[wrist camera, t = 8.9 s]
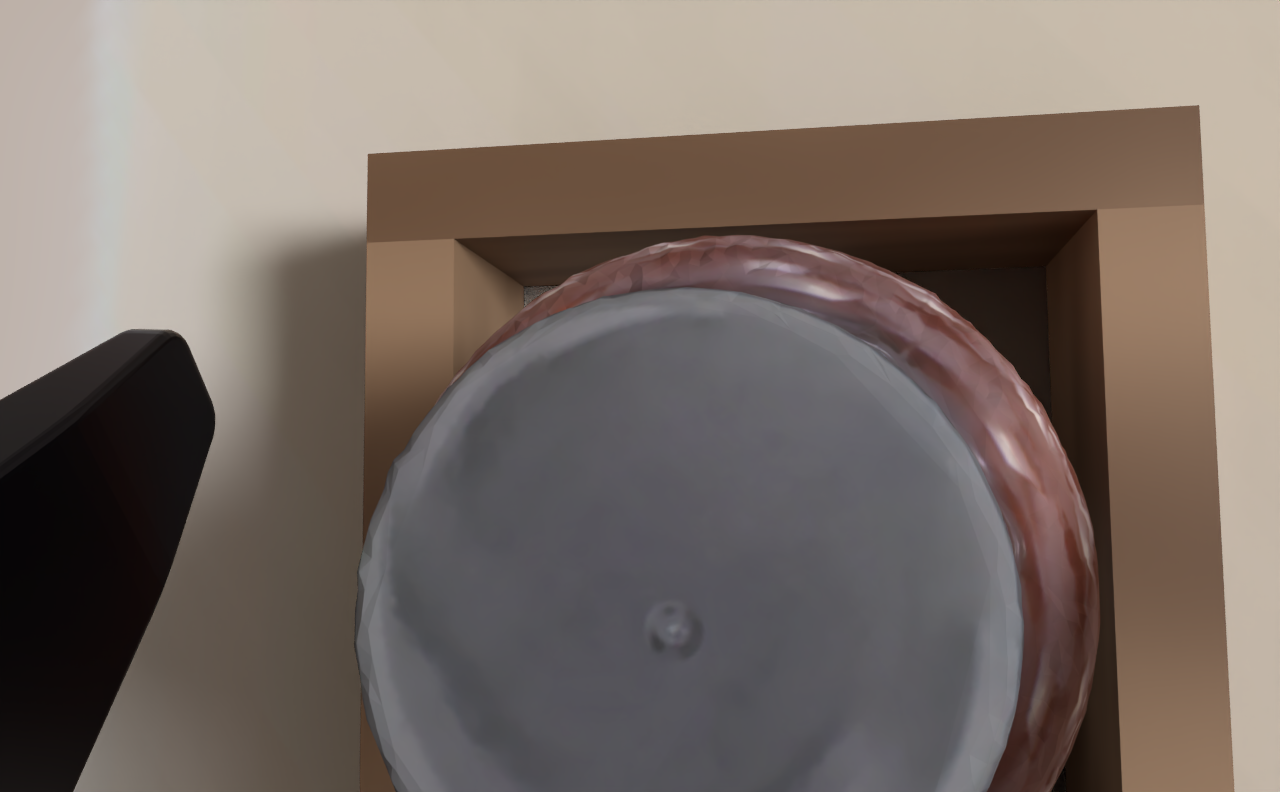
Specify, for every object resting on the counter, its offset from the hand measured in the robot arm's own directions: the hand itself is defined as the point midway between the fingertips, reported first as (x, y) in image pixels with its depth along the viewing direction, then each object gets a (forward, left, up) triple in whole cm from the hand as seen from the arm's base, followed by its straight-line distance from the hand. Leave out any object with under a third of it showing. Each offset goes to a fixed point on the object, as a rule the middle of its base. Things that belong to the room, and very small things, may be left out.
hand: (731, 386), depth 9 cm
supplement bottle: (-2, 0, -9) cm, 9 cm away
